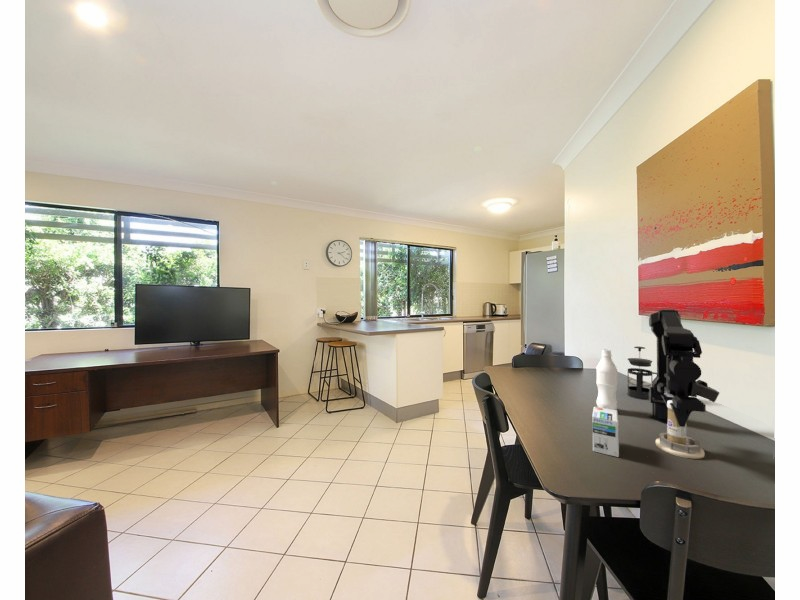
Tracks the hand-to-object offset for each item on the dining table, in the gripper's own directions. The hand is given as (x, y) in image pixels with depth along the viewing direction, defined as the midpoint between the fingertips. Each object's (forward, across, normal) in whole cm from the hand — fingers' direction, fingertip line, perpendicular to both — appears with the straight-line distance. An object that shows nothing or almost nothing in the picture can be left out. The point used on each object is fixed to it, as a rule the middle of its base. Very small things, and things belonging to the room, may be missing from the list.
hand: (679, 423), depth 93 cm
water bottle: (+8, +27, +15) cm, 32 cm away
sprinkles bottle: (+7, 0, 0) cm, 7 cm away
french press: (+8, +53, -2) cm, 54 cm away
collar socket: (+8, 0, 0) cm, 8 cm away
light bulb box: (+8, -8, +20) cm, 23 cm away
